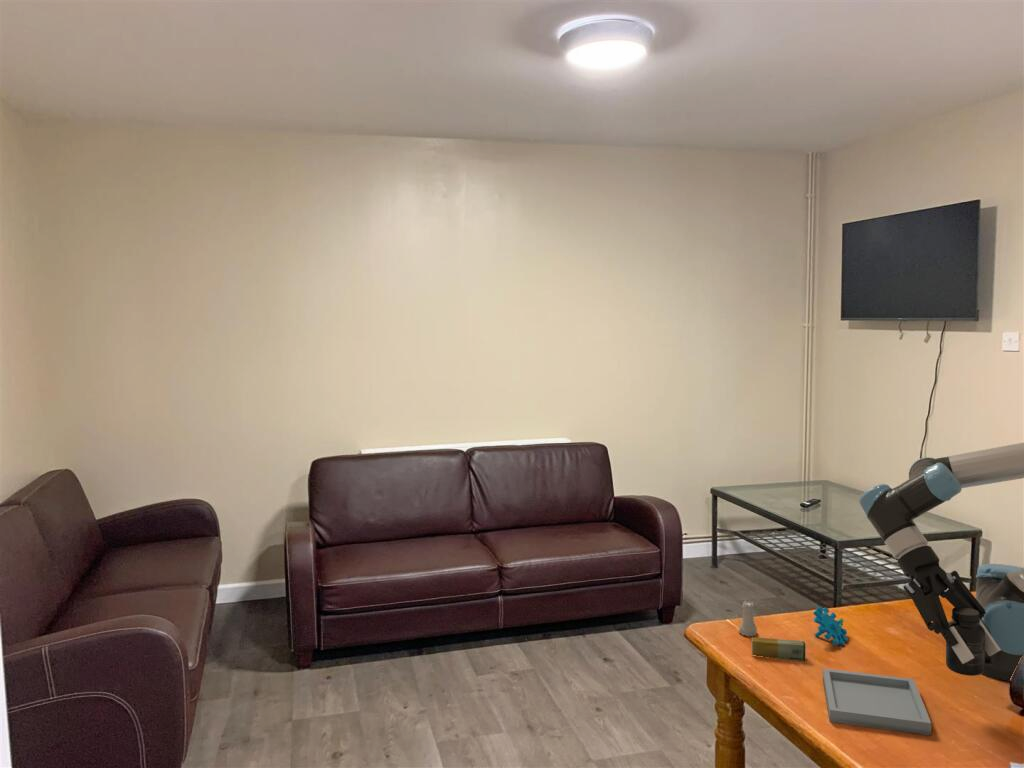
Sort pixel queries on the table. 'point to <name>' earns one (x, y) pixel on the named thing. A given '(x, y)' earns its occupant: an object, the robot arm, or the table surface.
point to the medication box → (779, 648)
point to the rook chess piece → (748, 620)
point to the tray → (875, 701)
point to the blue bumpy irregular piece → (830, 626)
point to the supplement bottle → (967, 642)
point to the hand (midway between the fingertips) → (981, 656)
